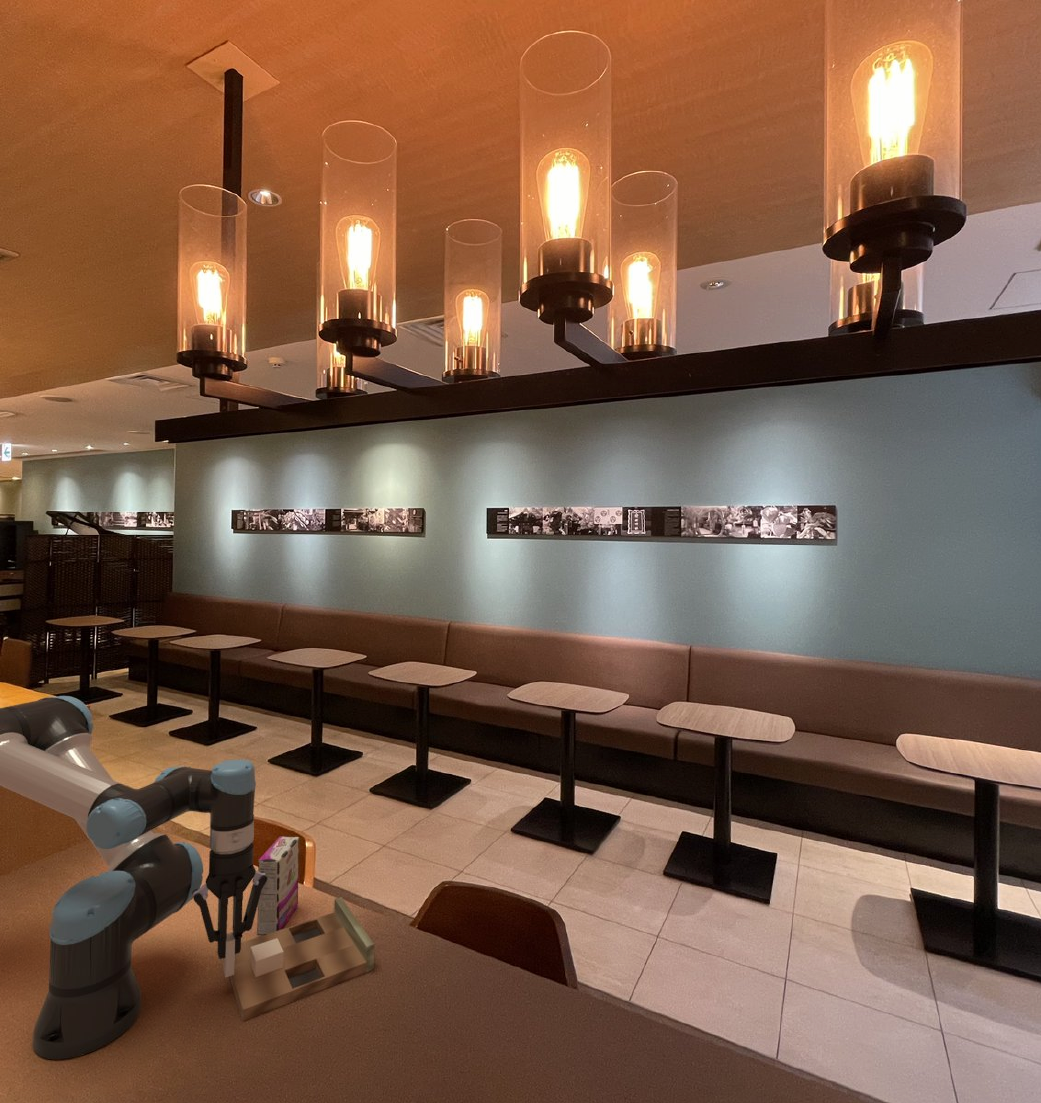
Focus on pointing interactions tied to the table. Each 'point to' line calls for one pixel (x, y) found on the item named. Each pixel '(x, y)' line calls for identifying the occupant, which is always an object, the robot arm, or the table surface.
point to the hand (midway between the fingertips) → (228, 972)
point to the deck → (304, 961)
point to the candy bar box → (278, 885)
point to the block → (266, 957)
